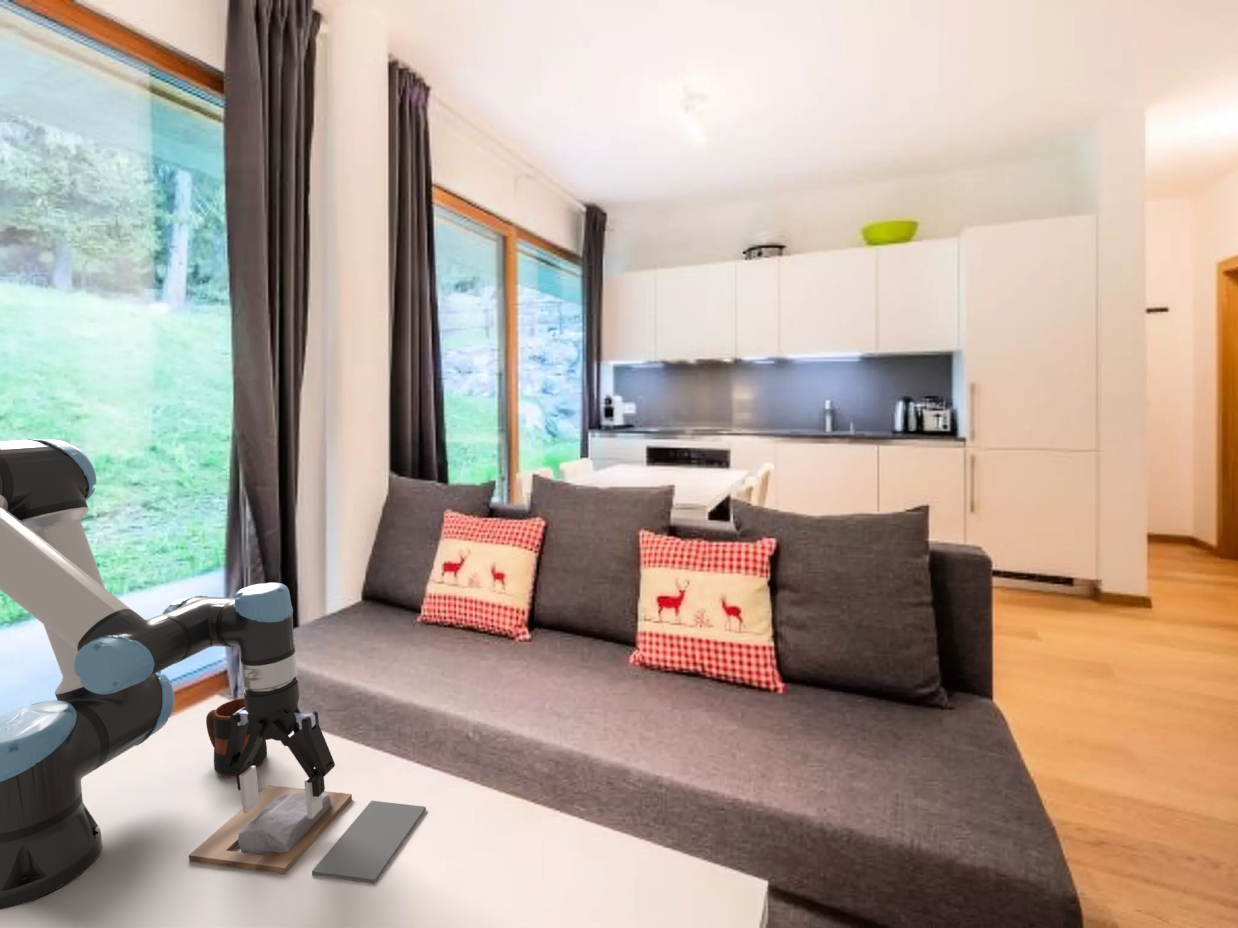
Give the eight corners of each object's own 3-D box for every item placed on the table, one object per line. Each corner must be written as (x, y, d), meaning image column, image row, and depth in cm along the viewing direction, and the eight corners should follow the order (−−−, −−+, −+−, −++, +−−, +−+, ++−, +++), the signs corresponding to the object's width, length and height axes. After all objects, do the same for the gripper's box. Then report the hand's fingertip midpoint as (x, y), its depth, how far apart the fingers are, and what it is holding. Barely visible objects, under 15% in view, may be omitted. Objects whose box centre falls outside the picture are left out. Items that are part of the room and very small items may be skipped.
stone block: (233, 866, 93) (290, 858, 92) (226, 836, 93) (283, 827, 92) (286, 817, 105) (338, 809, 104) (279, 790, 105) (331, 782, 103)
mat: (312, 874, 89) (311, 870, 89) (371, 803, 105) (371, 800, 105) (375, 883, 88) (374, 879, 88) (425, 809, 104) (425, 806, 103)
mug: (230, 746, 122) (226, 690, 121) (278, 756, 119) (274, 699, 117) (189, 771, 114) (184, 712, 113) (239, 782, 110) (235, 722, 109)
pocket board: (189, 861, 92) (188, 855, 92) (269, 790, 108) (269, 784, 108) (285, 873, 89) (284, 867, 89) (351, 799, 106) (351, 793, 106)
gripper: (186, 689, 94) (200, 820, 97) (323, 696, 91) (334, 832, 93) (224, 667, 102) (236, 790, 104) (352, 673, 98) (362, 800, 101)
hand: (282, 810), depth 99 cm, fingers open, 11 cm apart
